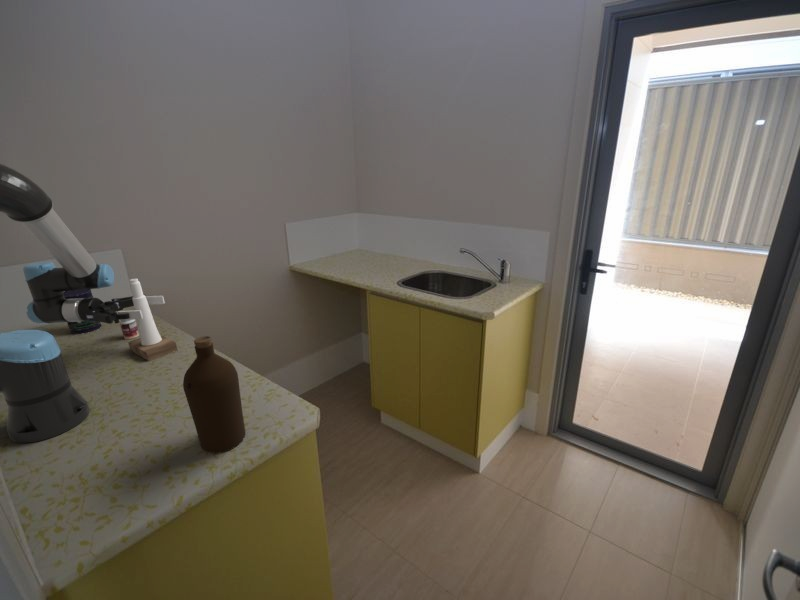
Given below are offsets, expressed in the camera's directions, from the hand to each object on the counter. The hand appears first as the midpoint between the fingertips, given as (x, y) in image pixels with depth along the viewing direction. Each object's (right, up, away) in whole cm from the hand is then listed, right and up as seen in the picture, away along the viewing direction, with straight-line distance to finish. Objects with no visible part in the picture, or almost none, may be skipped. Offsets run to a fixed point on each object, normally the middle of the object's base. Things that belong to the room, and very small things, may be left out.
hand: (153, 306), depth 128 cm
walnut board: (-3, -15, +5) cm, 16 cm away
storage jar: (-41, -9, +24) cm, 48 cm away
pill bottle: (-18, -11, +16) cm, 27 cm away
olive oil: (+40, -29, -38) cm, 63 cm away
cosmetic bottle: (-3, -12, +4) cm, 13 cm away
